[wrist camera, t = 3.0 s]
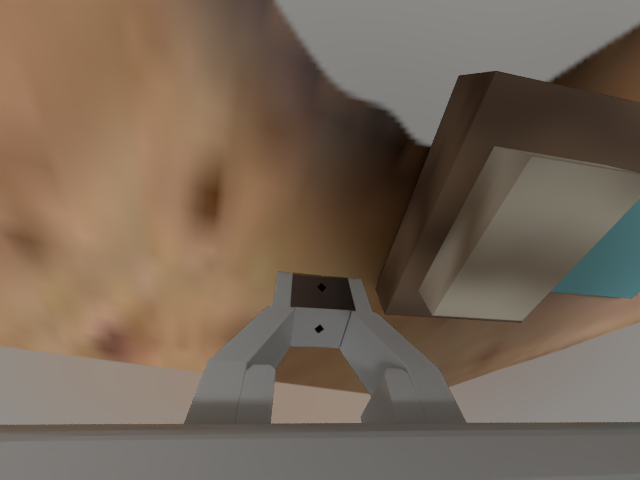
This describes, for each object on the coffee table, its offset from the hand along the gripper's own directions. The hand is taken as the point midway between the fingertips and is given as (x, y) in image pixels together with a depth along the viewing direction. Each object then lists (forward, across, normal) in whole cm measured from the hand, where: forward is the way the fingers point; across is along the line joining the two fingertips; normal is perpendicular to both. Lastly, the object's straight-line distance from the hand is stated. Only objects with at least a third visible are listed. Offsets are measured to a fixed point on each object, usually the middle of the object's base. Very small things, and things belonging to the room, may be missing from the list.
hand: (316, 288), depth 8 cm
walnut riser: (+7, -12, -1) cm, 13 cm away
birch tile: (+4, -10, -1) cm, 11 cm away
